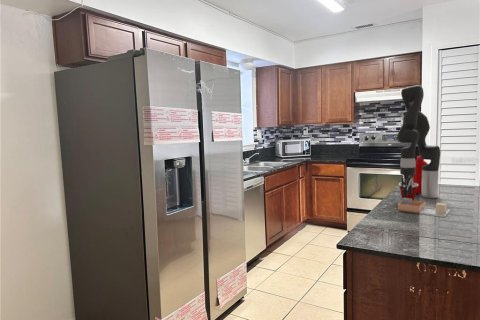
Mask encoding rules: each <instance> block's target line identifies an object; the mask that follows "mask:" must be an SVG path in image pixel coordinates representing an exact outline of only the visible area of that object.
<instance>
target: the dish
mask: <svg viewBox="0 0 480 320" xmlns="http://www.w3.org/2000/svg"><path fill="white" fill-rule="evenodd" d="M425 207H426V201H419V200H414V201H412V205H405V204H402V200H401V201H400V202H398V203H397V211H400V212H401V211H402V212H408V213H415V214H420V211H422V210H423V209H424V208H425Z"/></svg>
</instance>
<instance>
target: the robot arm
mask: <svg viewBox="0 0 480 320" xmlns="http://www.w3.org/2000/svg"><path fill="white" fill-rule="evenodd" d="M424 95H425V93H424V89H423V86H422V85H420V84H416V85H412V86H408V87H405V88H404V87H403V88H402V90H401V98H402V102H403V104H404V107H405V109H406V112H405V113H404V116H403V119H402V124H401V127H400V129H399V130H398V132H397V138H396V139H397V141H398V143H400V144H404V143H405V144H410V145H409V146H404V147H401V149H400V167H399V171H400V173H399V174H400V175H401V176H403V177H402V178H401V182H402V187H401V188H402V189H403V196H406V197H407V196H408V193H412V187H413V185H414V175H415V169H416V162H415V161H416V148H417V149H418V153H419V155H418V156H420V157H421V158H422V159H424V160H428V161H430V162H429V163H428V164H427V165H423V166H422V192H421V193H420V194H421V197H422V198H427V199H428V198H430V199H436V198H438V197H439V196H438V195H439V169H440V162H441V148H440V146H438V145H435V144H434V145H429V144H427V142H426V138H427V136H428V134H429V132H430V128H431V127H430V122H429V120H428V117H427V116H426V115H425V114H424V113H423V112H422V111H420V109H421V106H422V104H423V100H424ZM404 186H405V187H404Z"/></svg>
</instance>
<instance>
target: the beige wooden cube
mask: <svg viewBox="0 0 480 320" xmlns="http://www.w3.org/2000/svg"><path fill="white" fill-rule="evenodd" d="M447 205H448V204H447V203H443V202H436V203H435V208H436V212H435V214H443V215H444V214H445V213H446V209H448V208H447V207H448V206H447Z"/></svg>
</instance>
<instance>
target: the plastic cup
mask: <svg viewBox="0 0 480 320" xmlns="http://www.w3.org/2000/svg"><path fill="white" fill-rule="evenodd" d="M398 186H399V191H400V195H401V200H402V199H403V198H411V199H412V201H415V197H416V194H417V193H416V190H417V187H418V184H417V183H414V185H413V187H412V193H408V196H407V197H406V196H403V189H402V188H401V187H402V181H401V182H399V183H398ZM404 187H405V186H404Z"/></svg>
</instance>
